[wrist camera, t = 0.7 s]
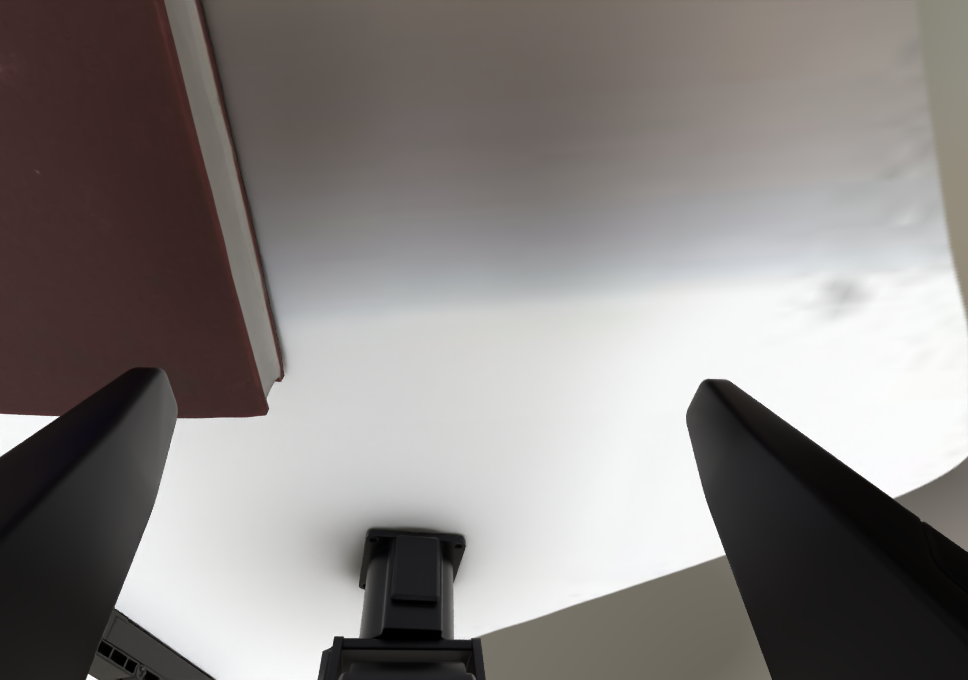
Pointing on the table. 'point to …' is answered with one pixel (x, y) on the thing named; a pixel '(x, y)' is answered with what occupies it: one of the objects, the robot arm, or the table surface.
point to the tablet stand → (137, 656)
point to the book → (124, 213)
